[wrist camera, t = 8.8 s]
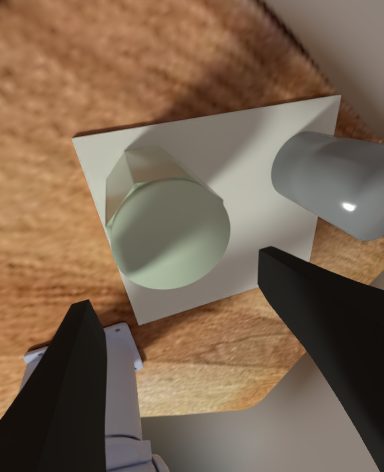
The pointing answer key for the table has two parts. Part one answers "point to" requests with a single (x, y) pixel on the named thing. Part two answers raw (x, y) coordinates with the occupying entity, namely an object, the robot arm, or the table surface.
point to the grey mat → (221, 190)
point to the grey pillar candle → (334, 180)
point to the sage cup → (163, 220)
